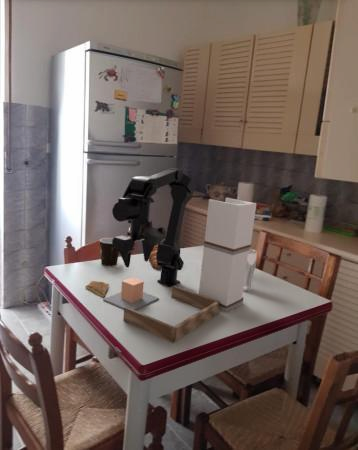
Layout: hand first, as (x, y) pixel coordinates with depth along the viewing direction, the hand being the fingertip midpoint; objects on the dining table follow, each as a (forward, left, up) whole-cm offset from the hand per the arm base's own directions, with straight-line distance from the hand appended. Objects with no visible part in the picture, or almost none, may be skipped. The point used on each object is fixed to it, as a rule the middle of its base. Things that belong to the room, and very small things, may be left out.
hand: (137, 264), depth 122 cm
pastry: (-38, -18, -13) cm, 44 cm away
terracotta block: (+1, 0, -12) cm, 12 cm away
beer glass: (-38, +22, -12) cm, 45 cm away
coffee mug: (-18, -30, -12) cm, 37 cm away
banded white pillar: (-20, +22, -12) cm, 32 cm away
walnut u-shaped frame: (+1, +17, -12) cm, 21 cm away
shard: (+2, -13, -13) cm, 19 cm away
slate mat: (+1, 0, -12) cm, 12 cm away
